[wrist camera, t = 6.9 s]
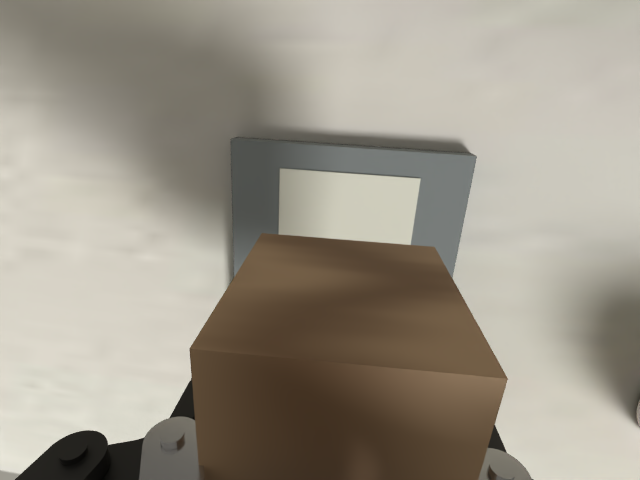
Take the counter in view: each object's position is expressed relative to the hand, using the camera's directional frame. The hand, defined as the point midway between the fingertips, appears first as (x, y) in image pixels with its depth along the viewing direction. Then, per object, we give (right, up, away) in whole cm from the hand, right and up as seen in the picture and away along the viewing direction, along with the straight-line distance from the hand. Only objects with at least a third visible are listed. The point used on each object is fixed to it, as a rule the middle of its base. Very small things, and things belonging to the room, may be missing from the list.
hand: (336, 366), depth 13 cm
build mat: (+1, +3, +9) cm, 10 cm away
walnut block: (0, 0, +1) cm, 1 cm away
